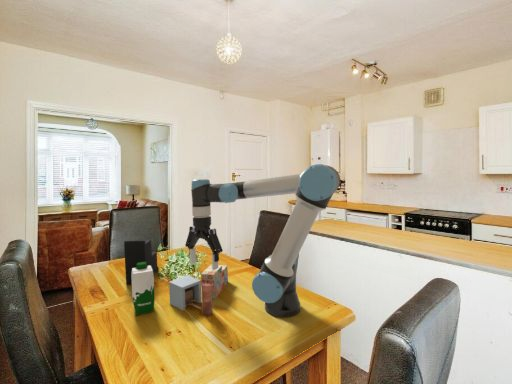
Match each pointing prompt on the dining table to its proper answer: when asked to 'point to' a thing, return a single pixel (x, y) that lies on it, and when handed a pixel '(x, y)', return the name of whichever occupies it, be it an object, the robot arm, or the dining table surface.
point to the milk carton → (143, 288)
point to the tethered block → (205, 299)
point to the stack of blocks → (215, 279)
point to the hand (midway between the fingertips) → (203, 266)
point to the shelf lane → (178, 291)
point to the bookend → (138, 256)
